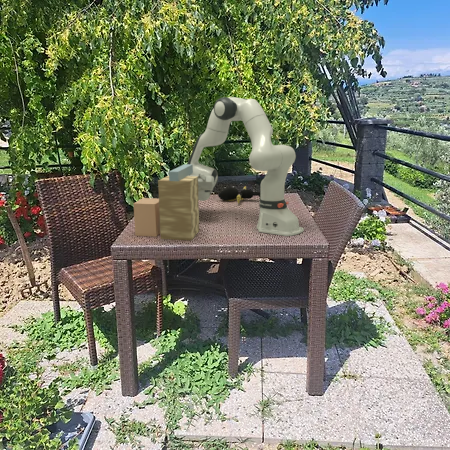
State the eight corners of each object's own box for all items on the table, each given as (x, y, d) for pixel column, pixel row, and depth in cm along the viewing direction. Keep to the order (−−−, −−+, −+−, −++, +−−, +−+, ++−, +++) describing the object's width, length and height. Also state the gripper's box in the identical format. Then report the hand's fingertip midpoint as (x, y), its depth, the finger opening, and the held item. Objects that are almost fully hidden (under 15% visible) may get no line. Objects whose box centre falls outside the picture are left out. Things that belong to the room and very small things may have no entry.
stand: (170, 230, 210) (168, 175, 203) (199, 231, 207) (197, 176, 200) (160, 238, 196) (158, 180, 190) (191, 240, 194) (189, 181, 187)
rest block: (144, 228, 213) (143, 198, 209) (164, 229, 211) (163, 198, 207) (135, 235, 202) (133, 203, 198) (156, 236, 200) (154, 204, 196)
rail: (184, 172, 212) (184, 164, 210) (192, 172, 211) (192, 164, 210) (169, 180, 189) (168, 171, 188) (178, 181, 188) (178, 171, 187)
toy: (269, 196, 286) (223, 197, 292) (269, 182, 283) (223, 183, 289) (264, 207, 256) (213, 208, 262) (263, 192, 254) (212, 192, 260)
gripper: (178, 179, 230) (170, 168, 217) (216, 179, 226) (211, 169, 213) (176, 190, 228) (168, 180, 215) (215, 191, 224) (210, 181, 211)
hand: (190, 175), depth 214 cm, fingers open, 8 cm apart
